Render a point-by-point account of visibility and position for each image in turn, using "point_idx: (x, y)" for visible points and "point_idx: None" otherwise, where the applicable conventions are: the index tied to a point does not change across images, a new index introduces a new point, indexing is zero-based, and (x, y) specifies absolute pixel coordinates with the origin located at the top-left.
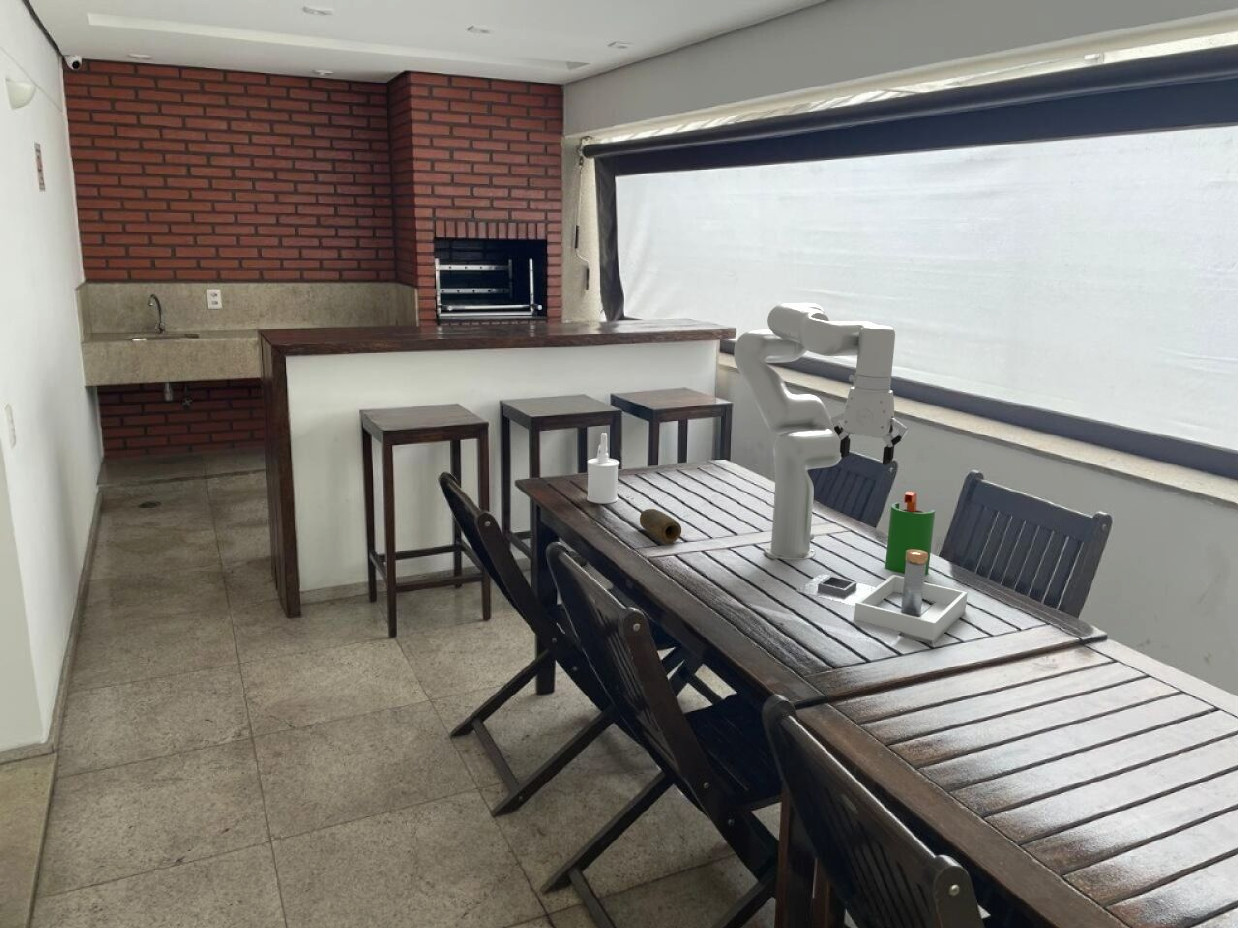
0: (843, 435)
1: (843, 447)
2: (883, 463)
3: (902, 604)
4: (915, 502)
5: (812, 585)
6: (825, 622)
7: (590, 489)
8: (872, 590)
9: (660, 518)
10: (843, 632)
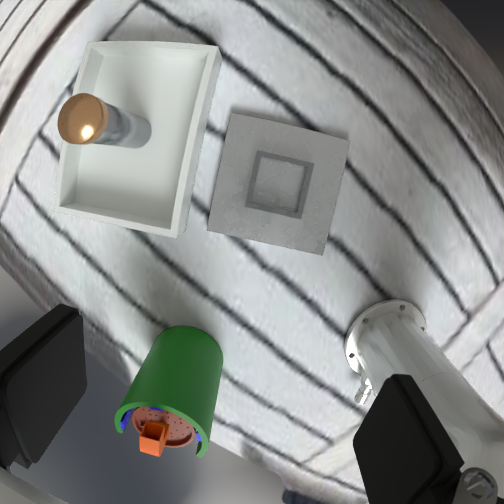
0: (471, 501)
1: (425, 421)
2: (73, 308)
3: (143, 121)
4: (147, 437)
5: (326, 182)
6: (267, 42)
7: None
8: (197, 123)
9: None
10: (231, 20)
